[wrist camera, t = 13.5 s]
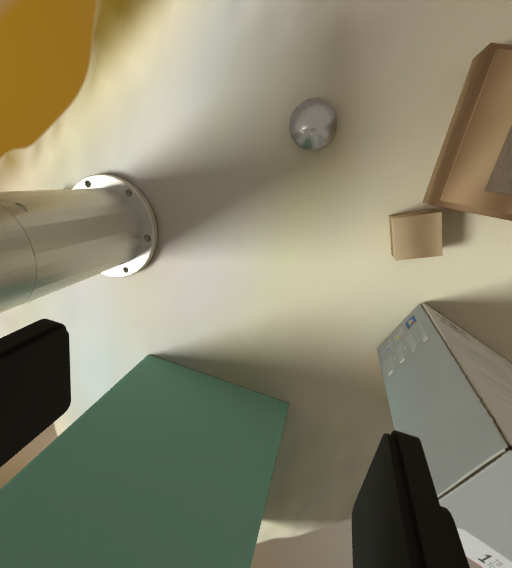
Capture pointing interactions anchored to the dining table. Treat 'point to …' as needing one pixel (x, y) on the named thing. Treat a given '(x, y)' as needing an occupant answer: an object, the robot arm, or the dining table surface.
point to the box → (148, 478)
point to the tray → (476, 138)
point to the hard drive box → (457, 425)
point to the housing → (502, 170)
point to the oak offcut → (416, 234)
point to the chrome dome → (313, 124)
